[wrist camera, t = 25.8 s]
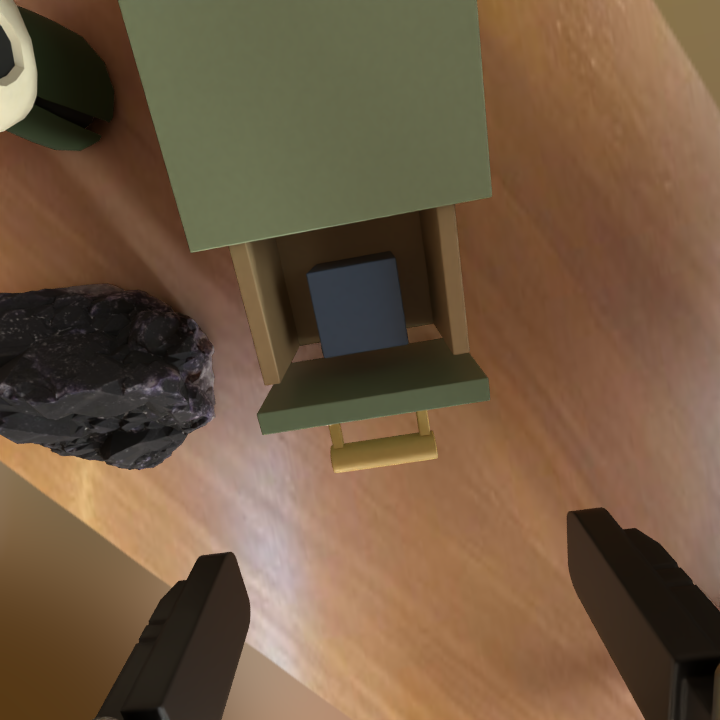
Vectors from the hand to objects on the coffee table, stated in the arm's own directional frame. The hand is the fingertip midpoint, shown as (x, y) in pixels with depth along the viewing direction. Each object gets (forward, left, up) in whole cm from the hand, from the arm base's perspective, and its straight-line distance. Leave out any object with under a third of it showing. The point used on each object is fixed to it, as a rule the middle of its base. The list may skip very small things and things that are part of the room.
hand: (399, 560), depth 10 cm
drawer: (0, -3, -19) cm, 19 cm away
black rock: (+17, -4, -20) cm, 27 cm away
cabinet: (-2, -15, -20) cm, 25 cm away
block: (0, -4, -18) cm, 18 cm away
